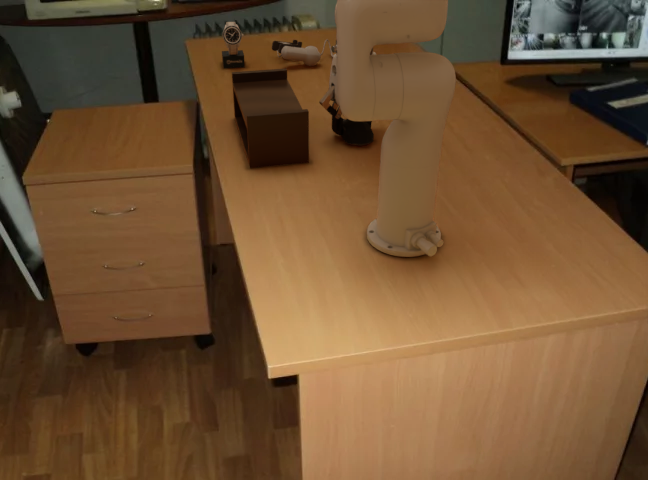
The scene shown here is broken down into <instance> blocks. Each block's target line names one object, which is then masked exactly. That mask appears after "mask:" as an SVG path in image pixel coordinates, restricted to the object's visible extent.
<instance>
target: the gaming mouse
mask: <svg viewBox="0 0 648 480" xmlns="http://www.w3.org/2000/svg"><path fill="white" fill-rule="evenodd" d="M374 135H375V134H374V131H373V129H372V126H371V127H370V125H369V124H368V123H367V122H365V121H351V120H349V119H347V118H343V135H341V136H340V137H341V138H342V140H343V141H344V143H346V144H348V145H353V146H360V147H361V146H367V145H369V144H372V143H373V142H374Z"/></svg>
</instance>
